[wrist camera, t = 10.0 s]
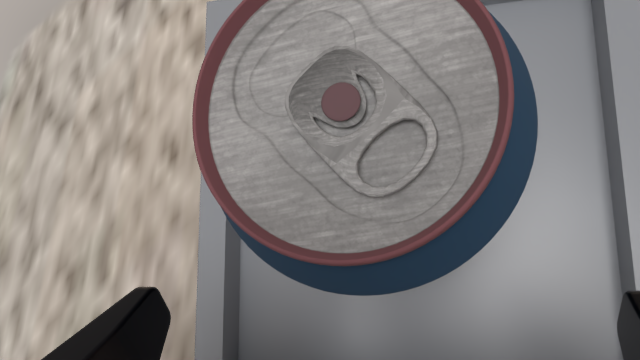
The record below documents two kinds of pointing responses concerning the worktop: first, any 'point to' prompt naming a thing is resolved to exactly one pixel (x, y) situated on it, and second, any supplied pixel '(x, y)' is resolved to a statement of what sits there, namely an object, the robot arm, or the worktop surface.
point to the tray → (505, 247)
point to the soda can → (365, 136)
